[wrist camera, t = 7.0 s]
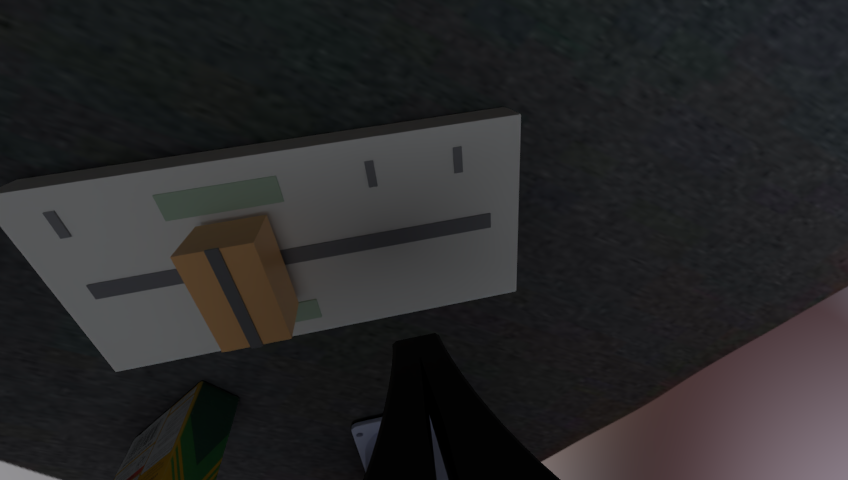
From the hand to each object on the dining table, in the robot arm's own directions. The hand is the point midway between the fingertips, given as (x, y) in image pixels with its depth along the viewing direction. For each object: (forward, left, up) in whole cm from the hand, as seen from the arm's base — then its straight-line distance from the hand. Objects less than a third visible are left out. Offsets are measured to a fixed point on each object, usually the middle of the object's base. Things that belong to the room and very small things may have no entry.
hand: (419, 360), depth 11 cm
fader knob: (0, +7, -7) cm, 10 cm away
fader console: (0, +4, -10) cm, 11 cm away
